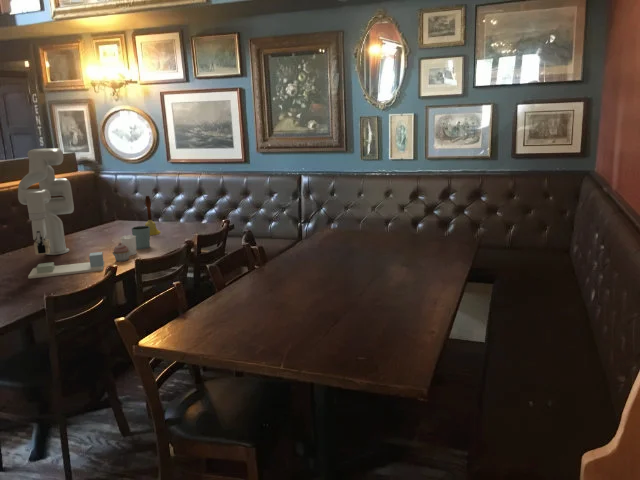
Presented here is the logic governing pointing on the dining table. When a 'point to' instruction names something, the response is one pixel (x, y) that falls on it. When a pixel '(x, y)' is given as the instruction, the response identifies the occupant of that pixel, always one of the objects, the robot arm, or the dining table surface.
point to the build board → (62, 269)
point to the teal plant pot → (142, 236)
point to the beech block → (47, 247)
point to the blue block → (96, 259)
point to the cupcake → (121, 252)
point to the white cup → (130, 243)
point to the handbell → (150, 223)
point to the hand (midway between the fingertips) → (43, 251)
